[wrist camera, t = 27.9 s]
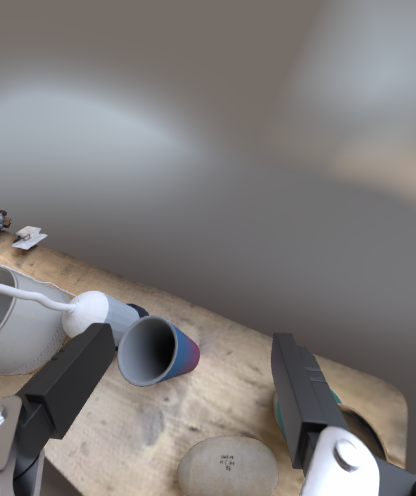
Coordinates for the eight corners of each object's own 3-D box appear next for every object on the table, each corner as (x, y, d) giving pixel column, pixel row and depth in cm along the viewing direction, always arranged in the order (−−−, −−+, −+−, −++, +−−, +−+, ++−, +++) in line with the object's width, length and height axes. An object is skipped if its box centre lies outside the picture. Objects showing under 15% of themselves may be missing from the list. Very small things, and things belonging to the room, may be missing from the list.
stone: (171, 444, 26) (255, 422, 24) (197, 447, 30) (272, 429, 27) (169, 517, 22) (272, 502, 19) (200, 510, 26) (290, 497, 23)
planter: (27, 360, 39) (-114, 354, 24) (68, 295, 44) (-25, 258, 29) (78, 384, 35) (-53, 397, 20) (115, 310, 41) (36, 277, 25)
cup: (172, 330, 37) (131, 310, 24) (208, 337, 35) (184, 320, 22) (161, 373, 33) (106, 377, 21) (200, 384, 32) (166, 394, 19)
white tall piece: (103, 346, 37) (-90, 319, 16) (122, 303, 41) (-14, 235, 20) (141, 358, 35) (-24, 343, 14) (157, 311, 39) (46, 243, 18)
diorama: (52, 240, 54) (55, 245, 55) (39, 222, 60) (42, 227, 61) (14, 253, 49) (17, 259, 50) (4, 232, 55) (7, 237, 57)
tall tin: (312, 462, 22) (351, 522, 13) (278, 408, 25) (293, 429, 16) (349, 431, 23) (409, 469, 14) (312, 381, 25) (343, 388, 17)
